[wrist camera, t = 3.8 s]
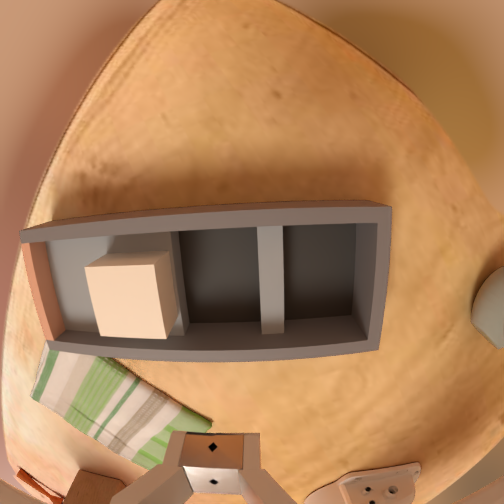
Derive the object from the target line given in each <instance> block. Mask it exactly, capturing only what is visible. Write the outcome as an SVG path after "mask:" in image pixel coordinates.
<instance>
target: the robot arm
mask: <svg viewBox="0 0 504 504" xmlns="http://www.w3.org/2000/svg"><path fill="white" fill-rule="evenodd" d="M420 473H421V466H420V464H419V462H416V463H411V464H406V465H401V466H395V467H389V468H383V469H376V470H368V471H360V472H352V473H348V474H346V475H344V476H343V477H341V478H340V479H339V480H337V481H336V482H334V483H332V484H330V485H327V486H325V487H323V488H320V489H319V490H317V491H315V492H313V493H312V494H310V495H309V496H308V497H307V498H306V499H305V501H304V504H412V502H413V500H414V497H415V485H414V483H415V482H416V481H417V479H418V477H419V475H420ZM193 492H195V493H215V494H217V493H218V494H235V495H242V496H243V498H244V499H245V501H246V502H247V503H248V504H297V503H296V502H295V501H294V500H293V499H292V498H291V497H290V496H289V495H288V494H287V493H286V492H285V491H284V490H283V489H282V487H281V486H280V485H279V484H278V483H277V482H276V481H275V480H274V479H273V478H272V477H271V476H270V475H269V473H268V472H267V471H266V470H265V469H261V451H260V433H245V434H244V433H201V432H188V431H176V430H173V432H172V433H171V435H170V439H169V442H168V446H167V449H166V453H165V456H164V459H163V463H162V464H157V465H156V466H155V467H153V468H152V469H151V470H149V471H148V472H147V473H145V474H144V475H143V476H141V477H140V478H139V479H137V480H136V481H134V482H133V483H132V484H130V485H129V486H127V487H126V488H124V489H123V490H122V491H120V492H119V493H117V494H116V495H114V496H113V497H112V499H111V502H110V504H184V503H185V502H186V501H187V500H188V499H189V498H190V497H191V496H192V495H193ZM0 504H47V503H45V502H43V501H41V500H39V499H37V498H35V497H33V496H31V495H29V494H27V493H25V492H23V491H21V490H20V489H18V488H16V487H14V486H12V485H11V484H9V483H7V482H6V481H4V480H2V479H1V478H0ZM452 504H504V475H503V476H502V477H500V478H498V479H497V480H495V481H493V482H492V483H490V484H488V485H487V486H485V487H483V488H481V489H479V490H478V491H476V492H474V493H472V494H470V495H468V496H466V497H464V498H462V499H460V500H458V501H456V502H454V503H452Z"/></svg>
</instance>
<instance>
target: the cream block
mask: <svg viewBox="0 0 504 504" xmlns="http://www.w3.org/2000/svg"><path fill="white" fill-rule="evenodd" d="M84 268H85V273H86V278H87V283H88V288H89V292H90V297H91V301H92V305H93V309H94V313H95V317H96V321H97V325H98V328H99V332H100V335H101V336H109V337H126V338H148V339H167V337H168V335H169V333H170V331H171V329H172V327H173V325H174V323H175V321H176V319H177V317H178V313H177V306H176V300H175V293H174V286H173V279H172V271H171V263H170V255H169V251H149V252H130V253H111V254H105V255H103V256H102V257H100V258H98V259H97V260H95V261H93V262H92V263H90V264H88V265H87V266H85V267H84Z"/></svg>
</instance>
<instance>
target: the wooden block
mask: <svg viewBox="0 0 504 504" xmlns="http://www.w3.org/2000/svg"><path fill="white" fill-rule="evenodd" d="M124 488H126V487H125V485H124V484H123V483H122V481H121V480H118V479H114V478H109V477H105V476H101V475H97V474H94V473H90V472H86V471H83V470H79V471H78V473H77V475H76V477H75V479H74V481H73V483H72V485H71V487H70V489H69V491H68V493H67V496H66V498H65V500H64V502H63V504H110V502H111V499H112V497H113V496H114V495H116V494H117V493H119V492H120V491H122V490H123V489H124Z"/></svg>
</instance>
